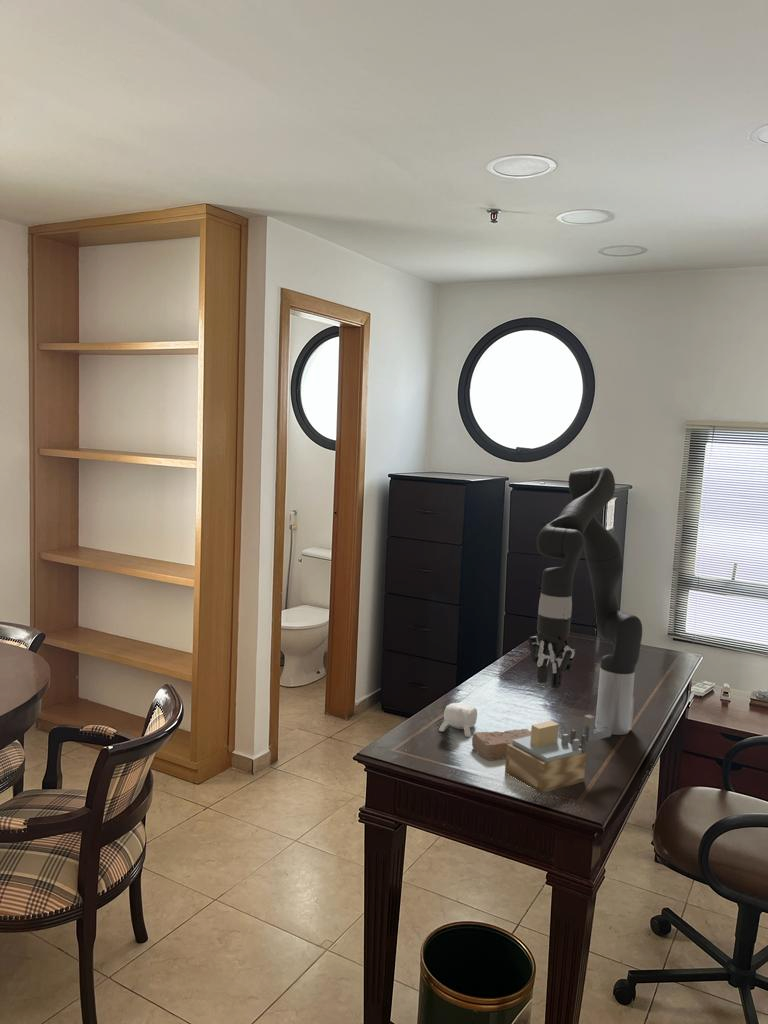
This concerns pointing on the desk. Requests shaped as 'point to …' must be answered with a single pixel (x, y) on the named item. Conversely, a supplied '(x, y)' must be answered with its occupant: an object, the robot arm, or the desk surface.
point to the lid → (548, 743)
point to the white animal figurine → (459, 717)
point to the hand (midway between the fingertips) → (548, 684)
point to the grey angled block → (594, 733)
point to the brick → (496, 742)
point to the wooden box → (546, 768)
